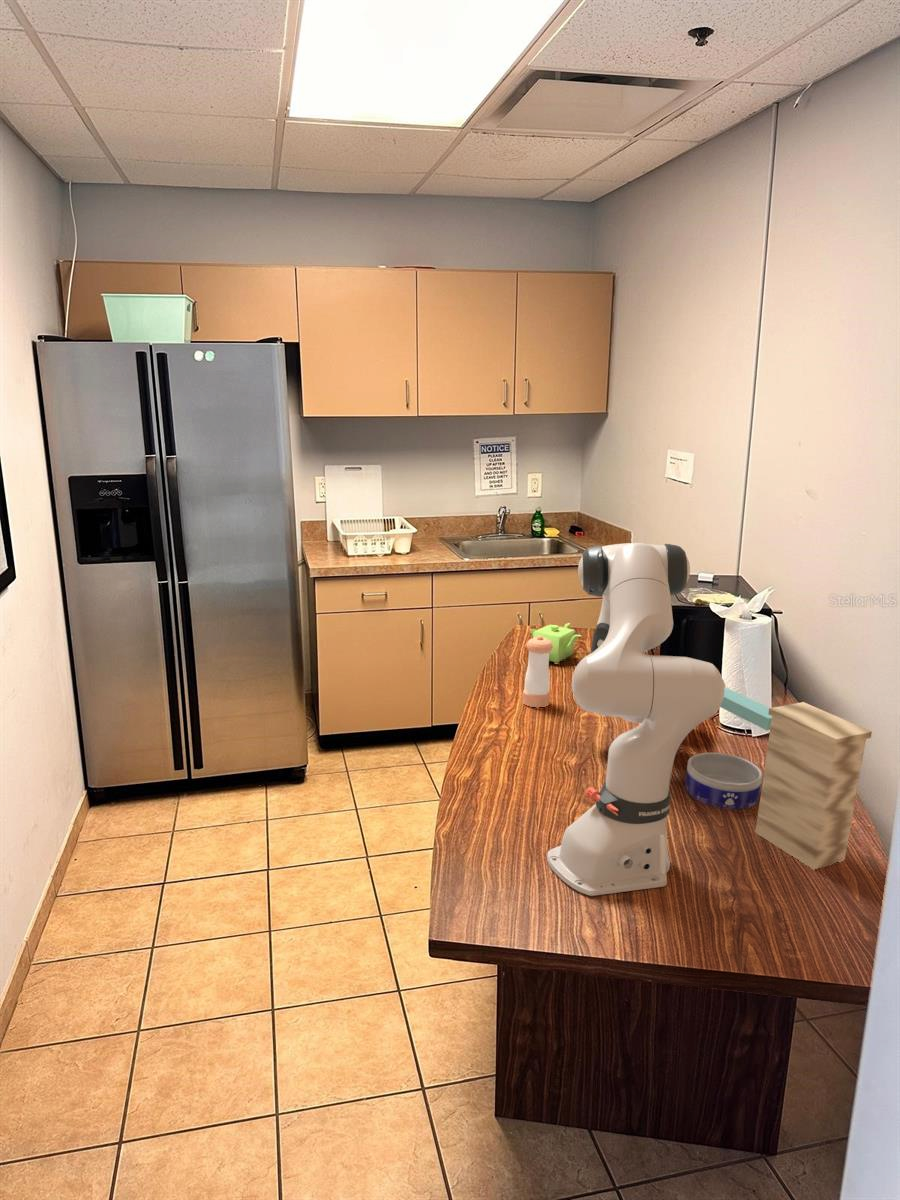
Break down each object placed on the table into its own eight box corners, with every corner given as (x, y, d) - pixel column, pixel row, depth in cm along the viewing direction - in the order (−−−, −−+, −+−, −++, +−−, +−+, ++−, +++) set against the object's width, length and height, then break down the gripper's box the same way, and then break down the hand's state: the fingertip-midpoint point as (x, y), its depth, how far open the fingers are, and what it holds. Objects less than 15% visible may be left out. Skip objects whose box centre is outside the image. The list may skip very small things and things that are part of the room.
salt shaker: (518, 705, 220) (523, 637, 216) (527, 696, 227) (531, 630, 222) (544, 710, 218) (549, 641, 213) (552, 701, 224) (557, 634, 219)
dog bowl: (747, 778, 183) (751, 754, 182) (768, 813, 168) (772, 786, 167) (678, 774, 184) (681, 749, 183) (693, 808, 169) (696, 781, 168)
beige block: (814, 872, 147) (836, 739, 141) (751, 831, 160) (769, 708, 154) (848, 861, 151) (871, 731, 145) (784, 823, 164) (803, 701, 158)
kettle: (567, 651, 268) (570, 618, 265) (582, 666, 254) (585, 631, 251) (523, 653, 265) (525, 619, 262) (536, 667, 251) (539, 632, 248)
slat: (766, 730, 161) (768, 718, 160) (686, 690, 180) (687, 679, 180) (783, 727, 162) (785, 715, 162) (702, 687, 182) (703, 677, 182)
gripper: (628, 690, 186) (666, 679, 174) (697, 679, 195) (738, 667, 183) (634, 717, 185) (673, 708, 173) (704, 705, 194) (745, 695, 181)
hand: (707, 687), depth 178 cm, fingers closed on slat, 4 cm apart
